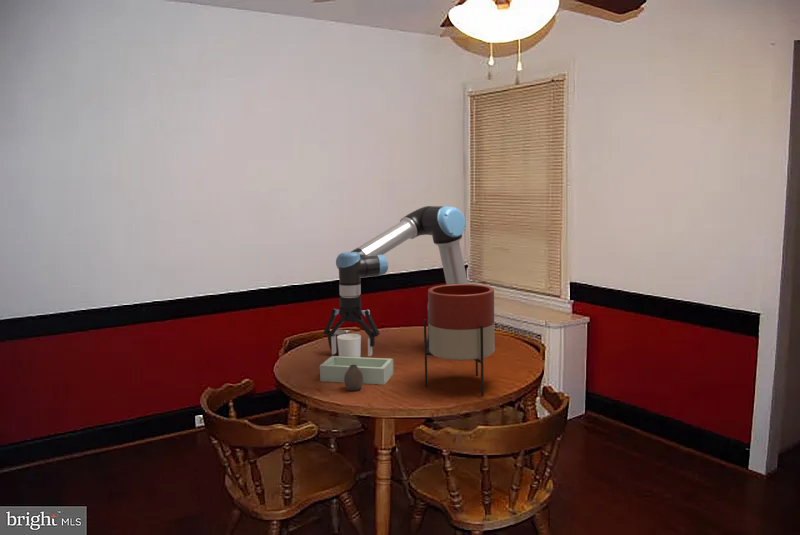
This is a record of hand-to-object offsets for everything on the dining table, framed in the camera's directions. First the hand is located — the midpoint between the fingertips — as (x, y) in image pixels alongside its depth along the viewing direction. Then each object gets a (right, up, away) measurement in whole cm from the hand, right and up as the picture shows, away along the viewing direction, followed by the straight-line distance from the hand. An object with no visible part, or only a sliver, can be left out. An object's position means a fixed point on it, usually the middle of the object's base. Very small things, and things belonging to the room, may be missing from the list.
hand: (352, 354), depth 226 cm
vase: (+1, -13, +2) cm, 13 cm away
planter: (+39, -12, +2) cm, 41 cm away
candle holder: (-3, -9, +32) cm, 33 cm away
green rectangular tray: (+1, -11, +15) cm, 19 cm away
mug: (-8, -7, +47) cm, 48 cm away
